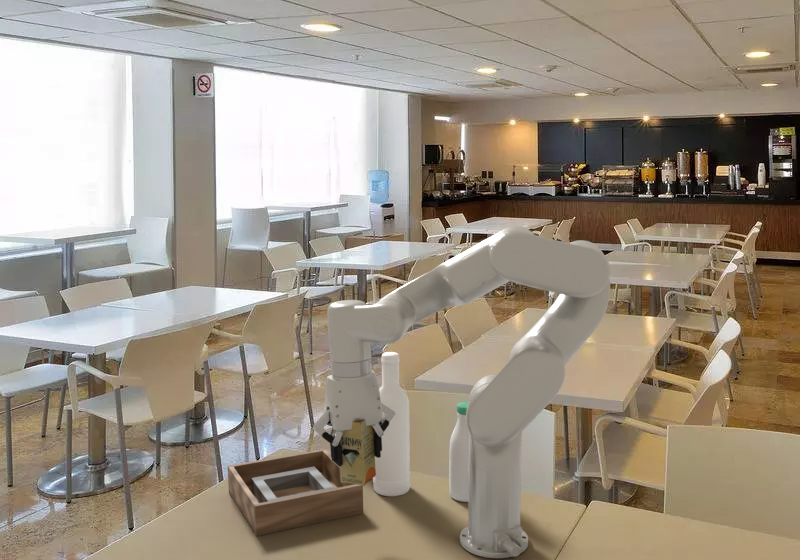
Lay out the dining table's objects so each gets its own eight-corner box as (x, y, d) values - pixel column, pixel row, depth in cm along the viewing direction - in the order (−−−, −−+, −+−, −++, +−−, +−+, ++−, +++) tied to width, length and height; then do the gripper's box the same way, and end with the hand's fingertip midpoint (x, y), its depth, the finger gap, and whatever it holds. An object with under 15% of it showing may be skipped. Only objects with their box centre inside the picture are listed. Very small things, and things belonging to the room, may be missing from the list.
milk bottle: (473, 506, 162) (474, 412, 159) (442, 497, 167) (442, 405, 163) (492, 493, 168) (493, 402, 165) (461, 484, 173) (462, 396, 170)
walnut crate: (363, 513, 159) (362, 484, 158) (256, 536, 150) (255, 506, 149) (325, 474, 179) (325, 448, 178) (228, 492, 170) (227, 465, 169)
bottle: (367, 493, 169) (365, 356, 164) (382, 479, 176) (380, 347, 171) (401, 499, 166) (400, 360, 161) (415, 485, 173) (415, 351, 168)
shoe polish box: (364, 485, 146) (360, 422, 144) (340, 482, 148) (336, 420, 146) (375, 475, 150) (372, 414, 149) (352, 472, 152) (348, 412, 151)
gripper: (385, 356, 153) (390, 444, 156) (299, 370, 146) (306, 462, 148) (402, 364, 146) (407, 456, 149) (313, 379, 139) (320, 476, 142)
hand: (357, 458), depth 149 cm, fingers closed on shoe polish box, 7 cm apart
